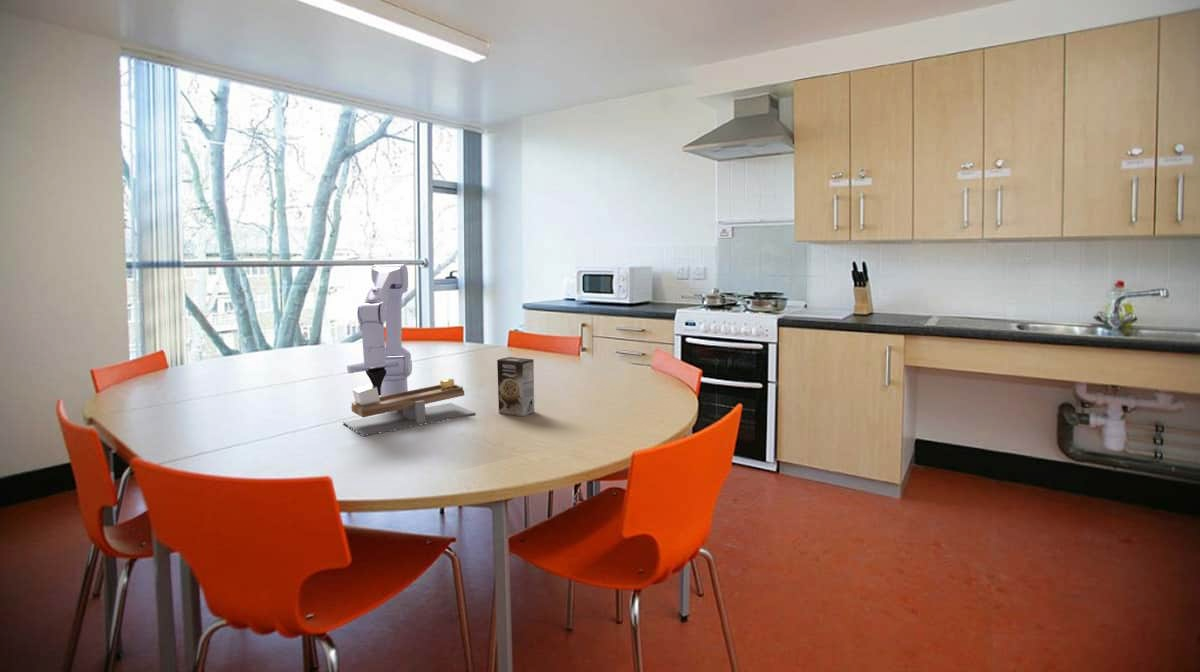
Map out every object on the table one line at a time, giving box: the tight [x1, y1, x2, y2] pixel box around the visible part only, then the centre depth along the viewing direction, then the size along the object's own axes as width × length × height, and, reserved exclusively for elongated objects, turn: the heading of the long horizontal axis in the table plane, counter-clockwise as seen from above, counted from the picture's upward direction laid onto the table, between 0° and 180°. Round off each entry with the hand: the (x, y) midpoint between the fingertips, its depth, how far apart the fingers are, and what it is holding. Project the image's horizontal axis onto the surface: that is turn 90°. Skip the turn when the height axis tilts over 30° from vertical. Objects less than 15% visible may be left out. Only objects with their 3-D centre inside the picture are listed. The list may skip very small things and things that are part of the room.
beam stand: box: [342, 393, 476, 435], centre depth 184 cm, size 16×33×6 cm, turn 129°
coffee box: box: [496, 356, 535, 417], centre depth 190 cm, size 9×6×16 cm
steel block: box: [352, 383, 380, 407], centre depth 176 cm, size 5×5×5 cm
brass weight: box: [439, 378, 455, 391], centre depth 191 cm, size 4×4×3 cm
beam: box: [350, 383, 465, 419], centre depth 184 cm, size 12×30×2 cm, turn 129°
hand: (377, 395), depth 178 cm, fingers closed, pressing on steel block
